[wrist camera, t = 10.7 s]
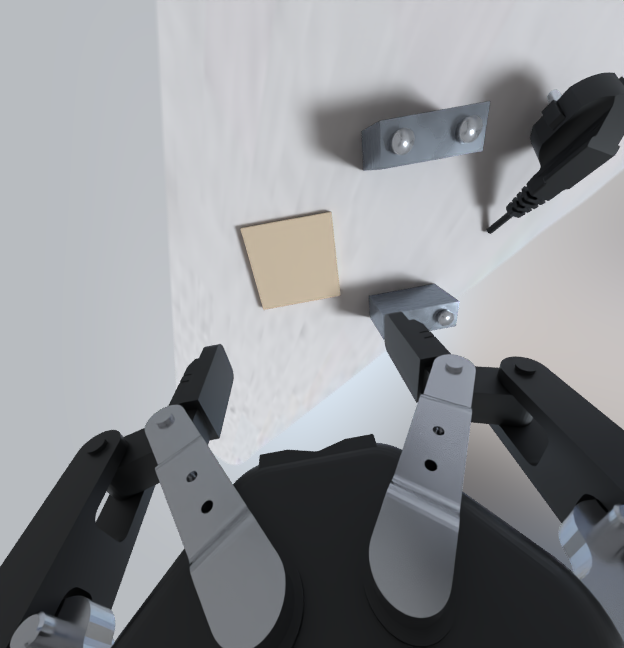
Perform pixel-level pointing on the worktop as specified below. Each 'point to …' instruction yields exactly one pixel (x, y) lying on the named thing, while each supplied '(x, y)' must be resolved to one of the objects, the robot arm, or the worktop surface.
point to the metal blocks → (413, 147)
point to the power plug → (572, 140)
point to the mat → (293, 260)
